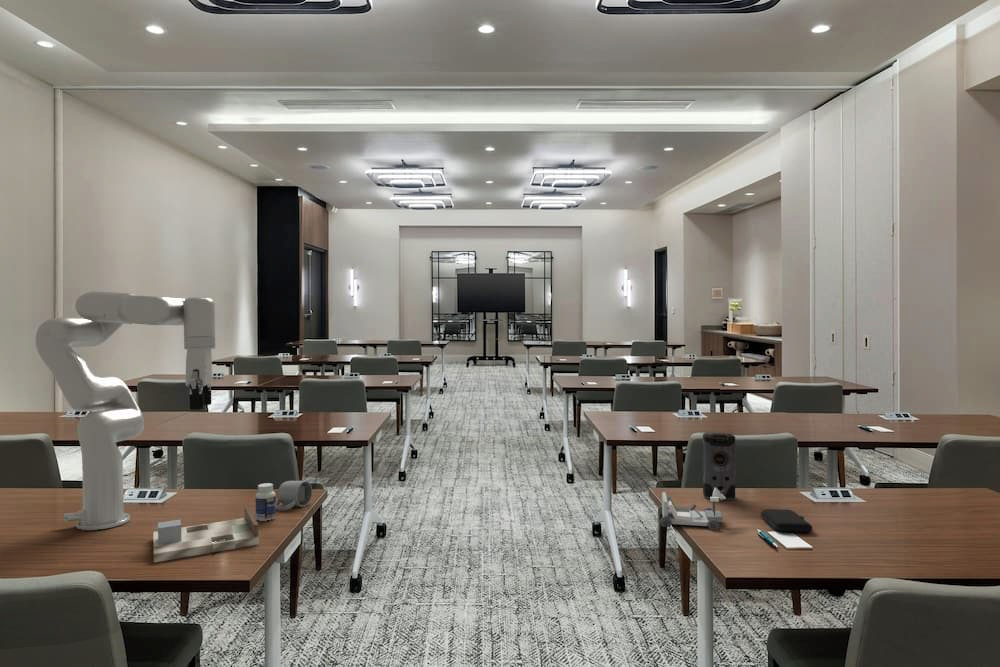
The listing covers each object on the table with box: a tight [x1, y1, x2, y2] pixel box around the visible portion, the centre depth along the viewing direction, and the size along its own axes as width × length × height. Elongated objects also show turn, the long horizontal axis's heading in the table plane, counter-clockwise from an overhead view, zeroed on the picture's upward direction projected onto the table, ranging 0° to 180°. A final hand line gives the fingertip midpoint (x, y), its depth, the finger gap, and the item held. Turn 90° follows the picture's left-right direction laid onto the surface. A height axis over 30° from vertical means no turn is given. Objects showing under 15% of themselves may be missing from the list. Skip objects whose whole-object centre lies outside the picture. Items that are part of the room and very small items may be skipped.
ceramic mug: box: [276, 480, 313, 512], centre depth 186 cm, size 11×8×8 cm
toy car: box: [658, 487, 726, 531], centre depth 169 cm, size 18×10×12 cm
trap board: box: [152, 506, 260, 563], centre depth 155 cm, size 23×18×5 cm
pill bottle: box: [255, 482, 277, 522], centre depth 174 cm, size 5×5×10 cm
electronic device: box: [702, 432, 736, 501], centre depth 193 cm, size 9×6×20 cm, turn 80°
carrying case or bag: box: [760, 508, 813, 535], centre depth 166 cm, size 11×3×15 cm
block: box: [157, 519, 182, 545], centre depth 151 cm, size 5×5×4 cm
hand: (201, 407), depth 164 cm, fingers open, 9 cm apart
